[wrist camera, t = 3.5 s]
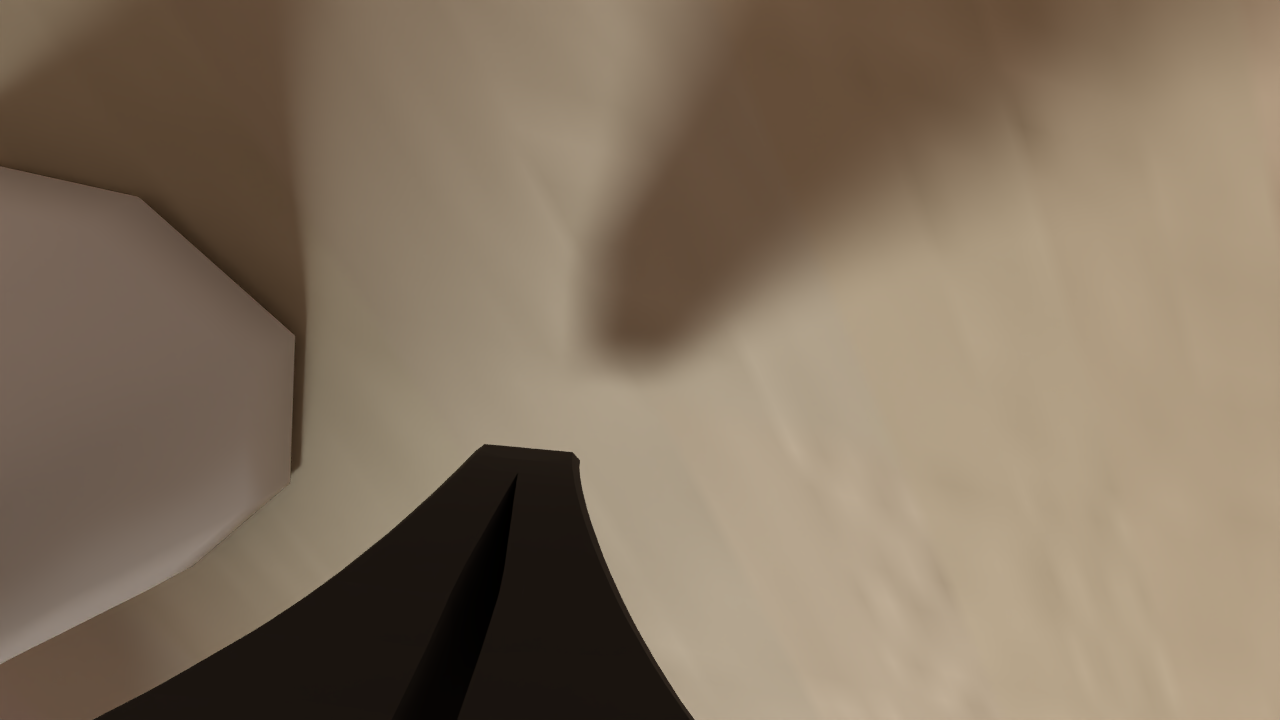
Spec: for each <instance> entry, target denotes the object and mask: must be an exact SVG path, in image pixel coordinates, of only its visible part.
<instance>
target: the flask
mask: <svg viewBox="0 0 1280 720" xmlns="http://www.w3.org/2000/svg"><path fill="white" fill-rule="evenodd" d="M294 354H295V335H294V334H293V333H291V332H290V331H289V330H288V329H287V328H286V327H285V326H284V325H282V324H281V323H280V322H279V321H278V320H277V319H276V318H275V317H273V316H272V315H271V314H270V313H269V312H268V311H267V310H266V309H264V308H263V307H262V306H261V305H260V304H259V303H258V302H257V301H255V300H254V299H253V298H252V297H251V296H250V295H249V294H248V293H246V292H245V291H244V290H243V289H242V288H241V287H240V286H239V285H237V284H236V283H235V282H234V281H233V280H232V279H231V278H230V277H228V276H227V275H226V274H225V273H224V272H223V271H222V270H221V269H219V268H218V267H217V266H216V265H215V264H214V263H213V262H211V261H210V260H209V259H208V258H207V257H206V256H205V255H204V254H202V253H201V252H200V251H199V250H198V249H197V248H196V247H195V246H193V245H192V244H191V243H190V242H189V241H188V240H187V239H186V238H184V237H183V236H182V235H181V234H180V233H179V232H178V231H177V230H175V229H174V228H173V227H172V226H171V225H170V224H169V223H168V222H166V221H165V220H164V219H163V218H162V217H161V216H160V215H159V214H157V213H156V212H155V211H154V210H153V209H152V208H151V207H150V206H148V205H147V204H146V203H145V202H144V201H143V200H142V199H141V198H139V197H137V196H133V195H128V194H124V193H119V192H115V191H110V190H105V189H101V188H96V187H92V186H87V185H83V184H78V183H74V182H69V181H65V180H60V179H56V178H51V177H46V176H42V175H37V174H33V173H28V172H24V171H19V170H15V169H10V168H6V167H1V166H0V664H2V663H4V662H5V661H7V660H9V659H11V658H13V657H15V656H17V655H19V654H21V653H23V652H25V651H27V650H29V649H31V648H33V647H35V646H37V645H39V644H41V643H43V642H45V641H47V640H49V639H51V638H53V637H55V636H57V635H59V634H61V633H63V632H65V631H67V630H69V629H71V628H73V627H75V626H77V625H79V624H81V623H83V622H85V621H87V620H89V619H91V618H93V617H95V616H97V615H99V614H101V613H103V612H105V611H107V610H109V609H111V608H113V607H115V606H117V605H119V604H121V603H123V602H125V601H127V600H129V599H131V598H133V597H135V596H137V595H139V594H141V593H143V592H145V591H147V590H149V589H151V588H153V587H155V586H156V585H158V584H160V583H162V582H164V581H166V580H168V579H169V578H171V577H173V576H175V575H177V574H179V573H180V572H182V571H184V570H186V569H188V568H190V567H191V566H193V565H194V564H195V563H196V562H198V561H199V560H200V559H201V558H202V557H204V556H205V555H206V554H207V553H208V552H209V551H211V550H212V549H213V548H214V547H215V546H216V545H218V544H219V543H220V542H221V541H222V540H224V539H225V538H226V537H227V536H228V535H229V534H231V533H232V532H233V531H234V530H235V529H236V528H238V527H239V526H240V525H241V524H242V523H244V522H245V521H246V520H247V519H248V518H249V517H251V516H252V515H253V514H254V513H255V512H256V511H258V510H259V509H260V508H261V507H262V506H263V505H265V504H266V503H267V502H268V501H269V500H271V499H272V498H273V497H274V496H275V495H276V494H278V493H279V492H280V491H281V490H282V489H283V488H285V487H286V486H287V485H288V484H289V483H290V471H291V442H292V412H293V383H294Z"/></svg>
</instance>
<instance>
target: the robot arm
mask: <svg viewBox="0 0 1280 720" xmlns="http://www.w3.org/2000/svg"><path fill="white" fill-rule="evenodd" d="M579 464H580V460H579V459H578V458H577V457H576V456H575V454H574V453H573V452H564V451H553V450H542V449H531V448H521V447H510V446H499V445H488V444H484V445H483V446H482V447H480V448H479V449H478V450H476V451H475V452H474V453H473V454H472V455H471V456H470V457H469V458H468V459H467V460H466V461H465V462H464V463H463V464H462V465H461V466H460V467H459V468H458V469H457V470H456V471H455V472H454V473H453V474H452V475H451V476H450V477H449V478H448V479H447V480H446V481H445V482H444V483H443V484H442V485H441V486H440V487H439V488H438V489H437V490H436V491H435V492H434V493H433V494H432V495H431V496H429V497H428V498H427V499H426V500H425V501H424V502H423V503H422V504H421V505H419V506H418V507H417V508H416V509H415V510H414V511H413V512H412V513H410V514H409V515H408V516H407V517H406V518H405V519H404V520H403V521H402V522H400V523H399V524H398V525H397V526H396V527H395V528H394V529H392V530H391V531H390V532H389V533H388V534H387V535H385V536H384V537H383V538H382V539H380V540H379V541H378V542H377V543H375V544H374V545H373V546H372V547H370V548H369V549H368V550H367V551H365V552H364V553H363V554H362V555H360V556H359V557H358V558H357V559H355V560H354V561H353V562H352V563H350V564H349V565H348V566H347V567H345V568H344V569H343V570H342V571H340V572H339V573H338V574H336V575H335V576H334V577H332V578H331V579H330V580H328V581H327V582H325V583H324V584H323V585H321V586H320V587H319V588H317V589H316V590H314V591H313V592H312V593H310V594H309V595H307V596H306V597H305V598H303V599H302V600H300V601H299V602H297V603H296V604H294V605H293V606H291V607H290V608H288V609H287V610H285V611H284V612H282V613H281V614H279V615H278V616H276V617H275V618H273V619H272V620H270V621H269V622H267V623H266V624H264V625H262V626H261V627H259V628H258V629H256V630H254V631H253V632H251V633H249V634H248V635H246V636H244V637H243V638H241V639H239V640H237V641H236V642H234V643H232V644H230V645H229V646H227V647H225V648H223V649H222V650H220V651H218V652H217V653H215V654H213V655H211V656H210V657H208V658H206V659H204V660H203V661H201V662H199V663H197V664H196V665H194V666H192V667H191V668H189V669H187V670H185V671H184V672H182V673H180V674H178V675H177V676H175V677H173V678H171V679H170V680H168V681H166V682H165V683H163V684H161V685H159V686H157V687H155V688H153V689H152V690H150V691H148V692H146V693H144V694H142V695H140V696H138V697H136V698H134V699H132V700H130V701H129V702H127V703H125V704H123V705H121V706H119V707H117V708H115V709H113V710H111V711H109V712H107V713H105V714H103V715H101V716H99V717H98V718H96V719H94V720H694V718H693V717H692V716H691V714H690V713H689V712H688V710H687V709H686V707H685V706H684V705H683V703H682V702H681V700H680V699H679V697H678V696H677V694H676V693H675V691H674V690H673V688H672V686H671V685H670V683H669V682H668V680H667V678H666V677H665V675H664V674H663V672H662V670H661V669H660V667H659V666H658V664H657V662H656V661H655V659H654V657H653V656H652V654H651V652H650V650H649V649H648V647H647V645H646V643H645V642H644V640H643V638H642V636H641V635H640V633H639V631H638V629H637V627H636V625H635V624H634V622H633V620H632V618H631V616H630V614H629V612H628V610H627V608H626V606H625V604H624V602H623V600H622V598H621V595H620V593H619V591H618V589H617V587H616V585H615V582H614V580H613V578H612V576H611V574H610V571H609V569H608V566H607V564H606V562H605V559H604V557H603V554H602V551H601V549H600V546H599V543H598V540H597V538H596V535H595V532H594V529H593V526H592V524H591V520H590V517H589V514H588V511H587V507H586V503H585V499H584V495H583V491H582V486H581V480H580V470H579Z"/></svg>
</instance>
